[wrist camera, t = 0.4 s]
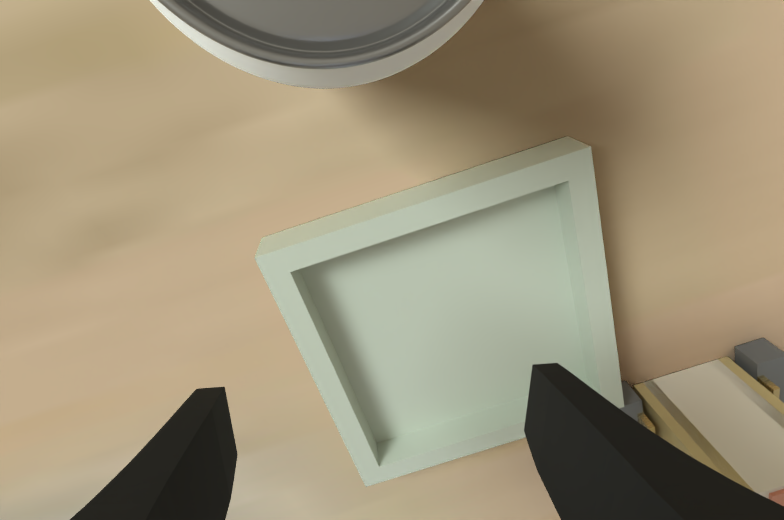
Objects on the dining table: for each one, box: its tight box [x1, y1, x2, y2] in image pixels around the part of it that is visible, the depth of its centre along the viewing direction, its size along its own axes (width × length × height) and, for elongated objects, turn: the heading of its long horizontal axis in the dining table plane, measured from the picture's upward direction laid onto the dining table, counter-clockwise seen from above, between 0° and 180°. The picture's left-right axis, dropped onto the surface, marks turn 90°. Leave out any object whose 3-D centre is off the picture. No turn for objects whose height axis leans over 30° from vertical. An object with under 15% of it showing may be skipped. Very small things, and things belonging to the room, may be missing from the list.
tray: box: [255, 136, 624, 487], centre depth 22 cm, size 13×13×2 cm
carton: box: [634, 356, 784, 506], centre depth 23 cm, size 3×5×7 cm, turn 107°
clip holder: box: [619, 338, 784, 433], centre depth 25 cm, size 4×9×2 cm, turn 107°
